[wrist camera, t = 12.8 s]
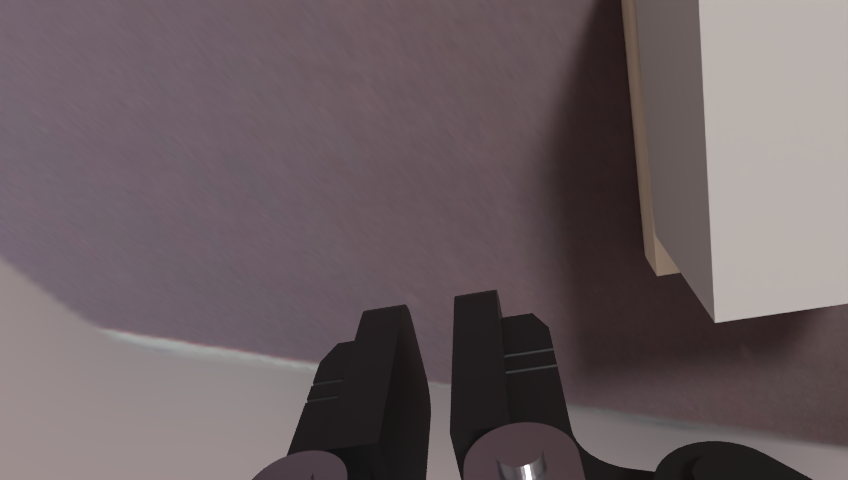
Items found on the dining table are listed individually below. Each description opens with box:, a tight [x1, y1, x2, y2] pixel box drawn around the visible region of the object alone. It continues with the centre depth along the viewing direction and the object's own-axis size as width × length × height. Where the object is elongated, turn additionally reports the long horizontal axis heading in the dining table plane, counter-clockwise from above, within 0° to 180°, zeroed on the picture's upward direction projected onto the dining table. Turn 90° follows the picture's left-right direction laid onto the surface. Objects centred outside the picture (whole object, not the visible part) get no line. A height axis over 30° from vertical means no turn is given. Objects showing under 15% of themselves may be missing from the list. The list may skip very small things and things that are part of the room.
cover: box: [635, 0, 848, 323], centre depth 20 cm, size 10×11×7 cm
